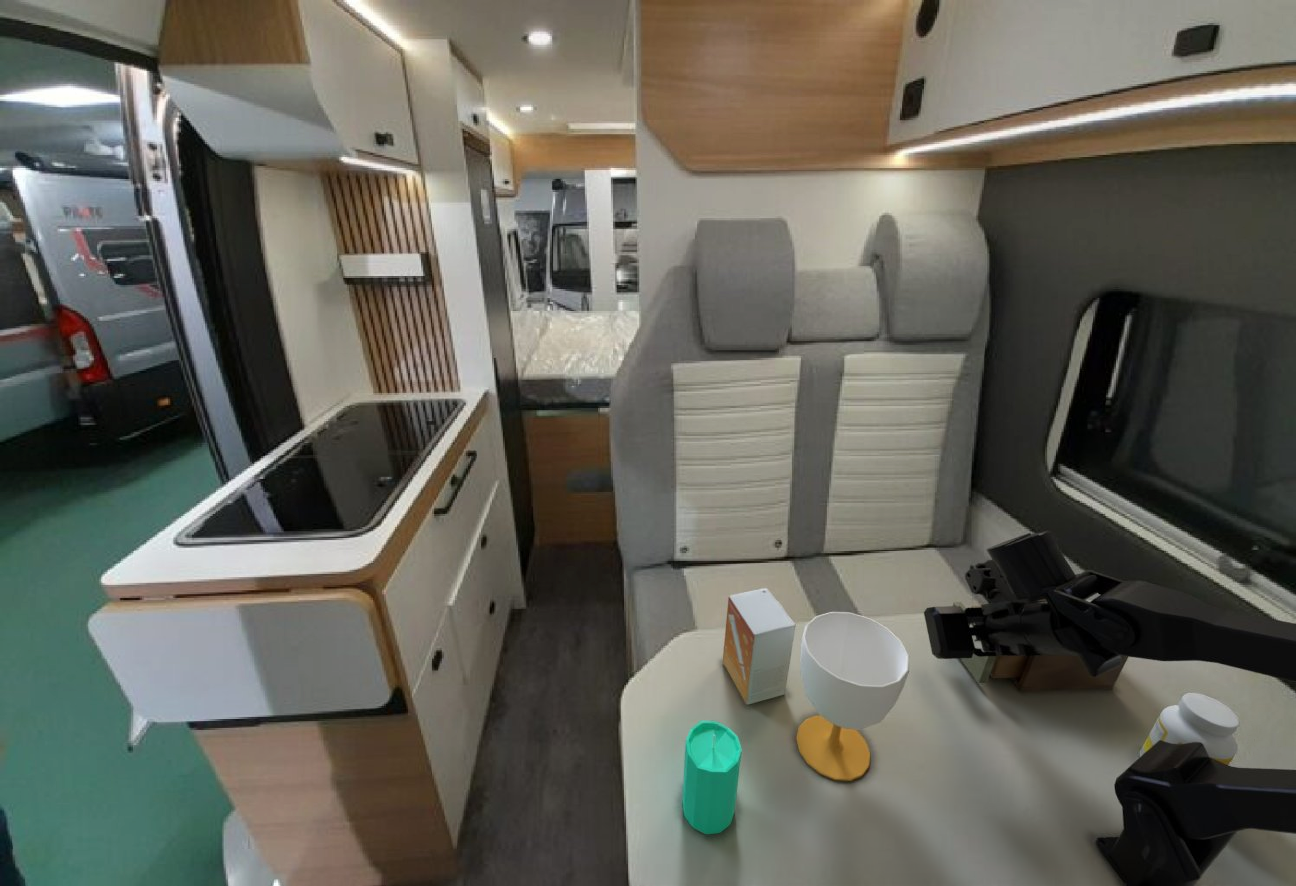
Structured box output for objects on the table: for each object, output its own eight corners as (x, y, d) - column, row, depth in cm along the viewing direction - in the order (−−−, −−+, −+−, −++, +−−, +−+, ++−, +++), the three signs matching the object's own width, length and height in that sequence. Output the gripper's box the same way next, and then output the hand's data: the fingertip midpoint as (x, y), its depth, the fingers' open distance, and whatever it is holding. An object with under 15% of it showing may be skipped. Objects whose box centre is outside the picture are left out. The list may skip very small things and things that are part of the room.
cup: (785, 779, 64) (803, 675, 58) (786, 699, 75) (801, 603, 68) (888, 803, 62) (921, 698, 55) (874, 717, 72) (900, 620, 65)
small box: (721, 662, 81) (727, 594, 76) (759, 653, 83) (767, 586, 77) (745, 706, 74) (754, 634, 68) (786, 695, 76) (797, 624, 70)
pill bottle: (1220, 809, 62) (1269, 740, 57) (1156, 797, 63) (1198, 729, 58) (1181, 757, 68) (1222, 691, 63) (1123, 747, 69) (1159, 681, 64)
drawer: (944, 684, 76) (956, 648, 74) (912, 636, 85) (921, 602, 82) (1063, 682, 77) (1079, 646, 74) (1019, 634, 86) (1032, 600, 83)
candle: (673, 791, 63) (677, 720, 58) (719, 773, 65) (726, 703, 60) (695, 843, 58) (701, 770, 53) (744, 822, 60) (753, 750, 55)
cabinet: (1020, 690, 77) (1039, 645, 73) (976, 636, 86) (991, 594, 83) (1112, 689, 77) (1135, 643, 74) (1058, 635, 87) (1076, 592, 83)
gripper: (1099, 555, 65) (1012, 573, 79) (949, 559, 64) (889, 576, 78) (1132, 654, 60) (1034, 654, 75) (972, 659, 60) (904, 658, 74)
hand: (964, 632), depth 76 cm, fingers closed
